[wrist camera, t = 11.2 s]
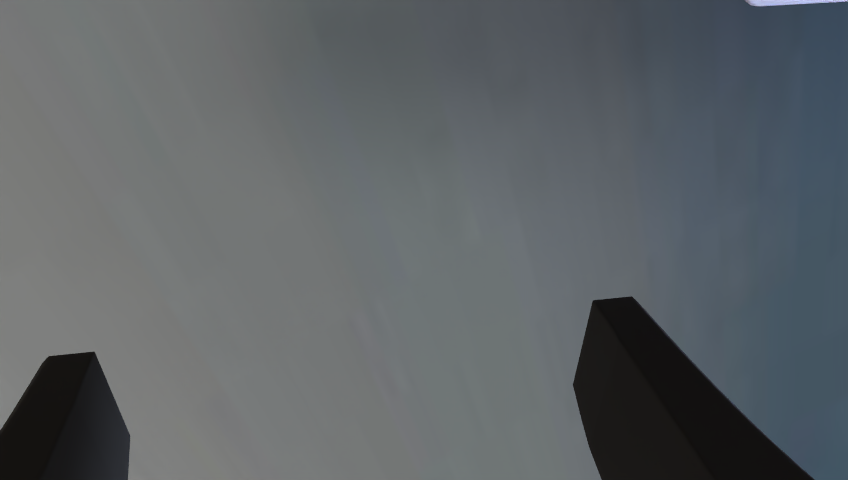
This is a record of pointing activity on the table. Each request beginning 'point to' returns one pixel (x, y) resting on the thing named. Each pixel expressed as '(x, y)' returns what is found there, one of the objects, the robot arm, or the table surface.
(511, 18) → the table surface
